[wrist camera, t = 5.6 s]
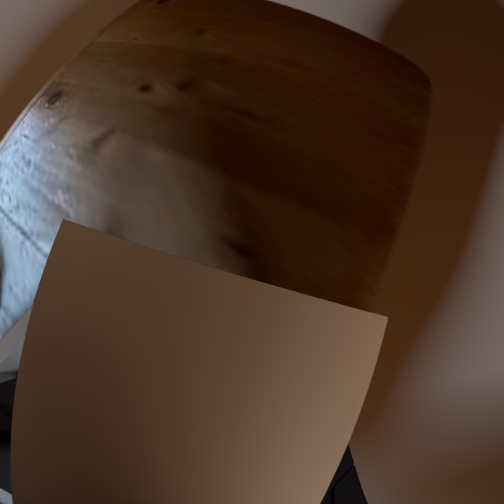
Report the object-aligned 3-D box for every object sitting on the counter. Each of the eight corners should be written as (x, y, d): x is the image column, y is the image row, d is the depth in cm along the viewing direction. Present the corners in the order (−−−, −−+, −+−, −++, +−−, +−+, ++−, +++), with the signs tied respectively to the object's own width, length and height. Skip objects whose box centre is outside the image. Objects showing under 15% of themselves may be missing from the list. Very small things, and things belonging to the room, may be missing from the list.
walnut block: (299, 333, 15) (388, 316, 3) (269, 421, 14) (240, 619, 2) (226, 311, 16) (63, 218, 3) (197, 398, 15) (12, 505, 2)
